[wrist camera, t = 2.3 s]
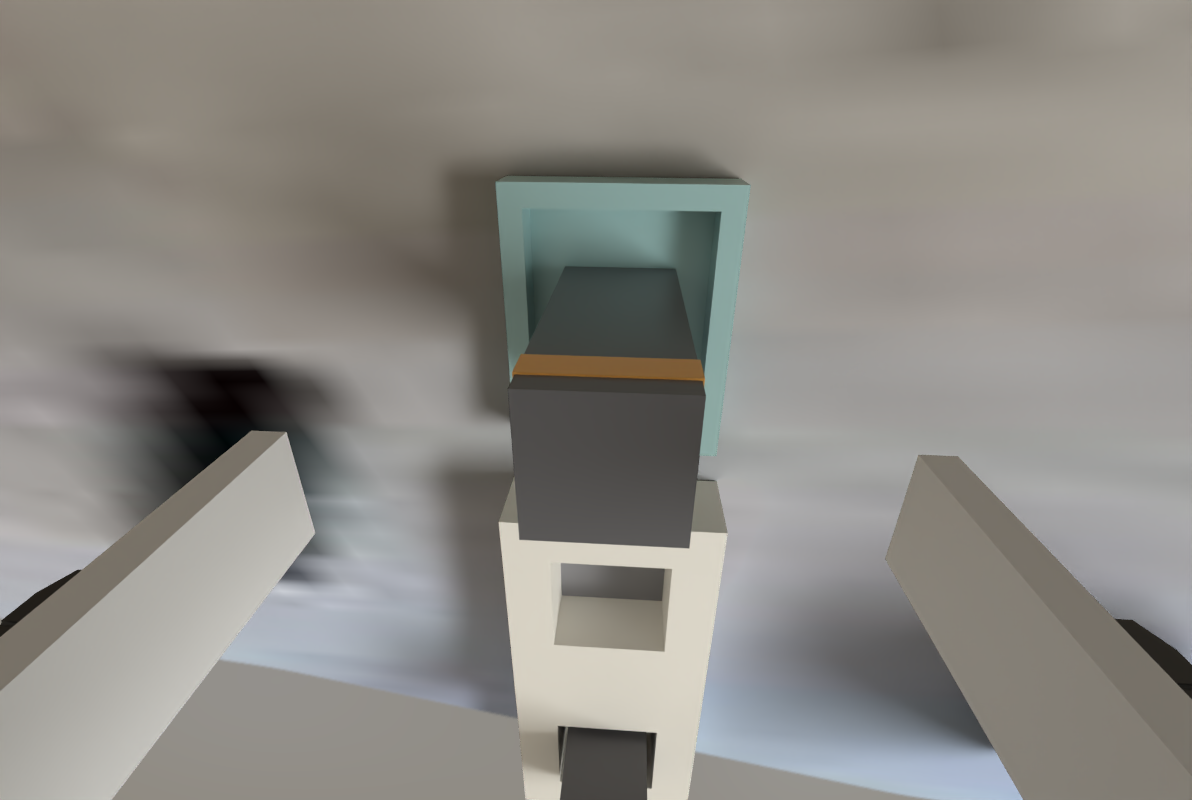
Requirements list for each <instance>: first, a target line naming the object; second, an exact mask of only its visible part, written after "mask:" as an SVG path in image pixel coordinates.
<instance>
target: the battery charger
mask: <svg viewBox="0 0 1192 800" xmlns="http://www.w3.org/2000/svg"><path fill="white" fill-rule="evenodd" d="M499 531H500V541H501V551H502V562H503V572H504V582H505V592H506V603H507V613H508V623H509V633H510V644H511V654H512V664H513V674H514V685H515V695H516V705H517V715H518V725H519V735H520V746H521V756H522V767H523V776H524V787H525V797H526V799H531V800H688V795H689V788H690V781H691V774H692V768H693V761H694V754H695V748H696V741H697V734H698V728H699V721H700V714H701V708H702V701H703V694H704V688H705V681H706V674H707V668H708V661H709V654H710V648H711V641H712V634H713V628H714V621H715V614H716V607H717V601H718V594H719V587H720V581H721V574H722V567H723V561H724V554H725V547H726V541H727V534H728V533H727V528H726V523H725V519H724V514H723V509H722V505H721V500H720V495H719V490H718V486H717V481H697V483H696V493H695V502H694V511H693V520H692V529H691V538H690V547H689V548H669V547H649V546H630V545H610V544H590V543H571V542H551V541H531V540H519V529H518V516H517V503H516V490H515V477H514V478H513V481H512V484H511V487H510V490H509V493H508V496H507V499H506V502H505V505H504V508H503V511H502V514H501V517H500V520H499Z"/></svg>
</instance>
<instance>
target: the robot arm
mask: <svg viewBox="0 0 1192 800" xmlns="http://www.w3.org/2000/svg"><path fill="white" fill-rule="evenodd" d="M314 534H315V530H314V527H313V523H312V520H311V517H310V513H309V510H308V506H307V503H306V499H305V496H304V492H303V489H302V485H301V482H300V478H299V475H298V471H297V468H296V464H295V461H294V457H293V454H292V450H291V447H290V443H289V440H288V436H287V433H286V432H267V431H251V432H250V433H248V434H247V435H246V436H245V437H244V438H242V439H241V440H240V441H239V442H237V443H236V444H235V445H234V446H233V447H231V448H230V449H229V450H228V451H227V452H225V453H224V454H223V455H222V456H220V457H219V458H218V459H217V460H216V461H214V462H213V463H212V464H211V465H209V466H208V467H207V468H206V469H205V470H203V471H202V472H201V473H200V474H198V475H197V476H196V477H195V478H194V479H192V480H191V481H190V482H189V483H187V484H186V485H185V486H184V487H183V488H181V489H180V490H179V491H178V492H177V493H175V494H174V495H173V496H172V497H170V498H169V499H168V500H167V501H166V502H164V503H163V504H162V505H161V506H159V507H158V508H157V509H156V510H155V511H153V512H152V513H151V514H150V515H148V516H147V517H146V518H145V519H144V520H142V521H141V522H140V523H139V524H138V525H136V526H135V527H134V528H133V529H131V530H130V531H129V532H128V533H127V534H125V535H124V536H123V537H122V538H120V539H119V540H118V541H117V542H116V543H114V544H113V545H112V546H111V547H109V548H108V549H107V550H106V551H105V552H103V553H102V554H101V555H100V556H98V557H97V558H96V559H95V560H94V561H92V562H91V563H90V564H89V565H88V566H86V567H85V568H84V569H83V570H76V571H75V572H73V573H71V574H69V575H67V576H66V577H64V578H62V579H60V580H58V581H57V582H55V583H53V584H51V585H49V586H48V587H46V588H44V589H42V590H40V591H39V592H37V593H35V594H34V595H33V596H32V597H30V598H29V599H28V600H27V601H25V602H24V603H23V604H22V605H20V606H19V607H18V608H17V609H15V610H14V611H13V612H11V613H10V614H9V615H8V616H6V617H5V618H4V619H3V620H1V621H2V623H1V625H0V800H112V798H113V797H114V796H115V795H116V793H117V792H118V791H119V789H120V788H121V787H122V785H123V784H124V783H125V781H126V780H127V779H128V777H129V776H130V775H131V773H132V772H133V771H134V770H135V768H136V767H137V766H138V764H139V763H140V762H141V761H142V759H143V758H144V757H145V755H146V754H147V753H148V751H149V750H150V749H151V747H152V746H153V745H154V744H155V742H156V741H157V740H158V738H159V737H160V735H161V734H162V733H163V732H164V730H165V729H166V728H167V727H168V725H169V724H170V723H171V721H172V720H173V719H174V717H175V716H176V715H177V713H178V712H179V711H180V709H181V708H182V707H183V706H184V704H185V703H186V702H187V700H188V699H189V698H190V696H191V695H192V694H193V692H194V691H195V690H196V689H197V687H198V686H199V685H200V683H201V682H202V681H203V679H204V678H205V677H206V676H207V674H208V673H209V672H210V670H211V669H212V668H213V666H214V665H215V664H216V662H217V661H218V660H219V659H220V657H221V656H222V655H223V653H224V652H225V651H226V649H227V648H228V647H229V645H230V644H231V643H232V642H233V640H234V639H235V638H236V636H237V635H238V634H239V632H240V631H241V630H242V628H243V627H244V626H245V625H246V623H247V622H248V621H249V619H250V618H251V617H252V615H253V614H254V613H255V611H256V610H257V609H258V608H259V606H260V605H261V604H262V602H263V601H264V600H265V598H266V597H267V596H268V594H269V593H270V592H271V591H272V589H273V588H274V587H275V585H276V584H277V583H278V581H279V580H280V579H281V577H282V576H283V575H284V574H285V572H286V571H287V570H288V568H289V567H290V566H291V564H292V563H293V562H294V560H295V559H296V558H297V557H298V555H299V554H300V553H301V551H302V550H303V549H304V547H305V546H306V545H307V543H308V542H309V541H310V540H311V538H312V537H313V536H314ZM885 559H886V561H887V563H888V565H889V566H890V568H891V570H892V572H893V573H894V575H895V577H896V579H897V580H898V582H899V584H900V586H901V587H902V589H903V591H904V593H905V594H906V596H907V598H908V600H909V601H910V603H911V605H912V607H913V608H914V610H915V612H916V613H917V615H918V617H919V619H920V620H921V622H922V624H923V626H924V627H925V629H926V631H927V633H928V634H929V636H930V638H931V640H932V641H933V643H934V645H935V647H936V648H937V650H938V652H939V654H940V655H941V657H942V659H943V661H944V662H945V664H946V666H947V668H948V669H949V671H950V673H951V674H952V676H953V678H954V680H955V681H956V683H957V685H958V687H959V688H960V690H961V692H962V694H963V695H964V697H965V699H966V701H967V702H968V704H969V706H970V708H971V709H972V711H973V713H974V715H975V716H976V718H977V720H978V722H979V723H980V725H981V727H982V729H983V730H984V732H985V734H986V735H987V737H988V739H989V741H990V742H991V744H992V746H993V748H994V749H995V751H996V753H997V755H998V756H999V758H1000V760H1001V762H1002V763H1003V765H1004V767H1005V769H1006V770H1007V772H1008V774H1009V776H1010V777H1011V779H1012V781H1013V783H1014V784H1015V786H1016V788H1017V789H1018V791H1019V793H1020V795H1021V796H1022V798H1023V800H1192V665H1191V664H1190V663H1189V662H1188V661H1187V660H1186V659H1185V658H1184V657H1183V656H1182V655H1181V654H1180V653H1179V652H1178V651H1177V650H1176V649H1174V648H1173V647H1171V646H1170V645H1168V644H1167V643H1166V642H1164V641H1163V640H1161V639H1160V638H1158V637H1157V636H1155V635H1154V634H1152V633H1151V632H1149V631H1148V630H1146V629H1145V628H1143V627H1142V626H1140V625H1139V624H1137V623H1136V622H1134V621H1133V620H1122V619H1114V618H1113V617H1112V616H1111V615H1110V614H1109V613H1108V612H1107V611H1106V610H1105V609H1104V608H1103V607H1102V606H1101V605H1100V604H1099V603H1098V602H1097V600H1096V599H1095V598H1094V597H1093V596H1092V595H1091V594H1090V593H1089V592H1088V591H1087V590H1086V589H1085V588H1084V587H1083V586H1082V585H1081V584H1080V583H1079V582H1078V581H1077V580H1076V579H1075V578H1074V577H1073V576H1072V575H1071V573H1070V572H1069V571H1068V570H1067V569H1066V568H1065V567H1064V566H1063V565H1062V564H1061V563H1060V562H1059V561H1058V560H1057V559H1056V558H1055V557H1054V556H1053V555H1052V554H1051V553H1050V552H1049V551H1048V550H1047V549H1046V548H1045V546H1044V545H1043V544H1042V543H1041V542H1040V541H1039V540H1038V539H1037V538H1036V537H1035V536H1034V535H1033V534H1032V533H1031V532H1030V531H1029V530H1028V529H1027V528H1026V527H1025V526H1024V525H1023V524H1022V523H1021V522H1020V521H1019V519H1018V518H1017V517H1016V516H1015V515H1014V514H1013V513H1012V512H1011V511H1010V510H1009V509H1008V508H1007V507H1006V506H1005V505H1004V504H1003V503H1002V502H1001V501H1000V500H999V499H998V498H997V497H996V496H995V495H994V494H993V492H992V491H991V490H990V489H989V488H988V487H987V486H986V485H985V484H984V483H983V482H982V481H981V480H980V479H979V478H978V477H977V476H976V475H975V474H974V473H973V472H972V471H971V470H970V469H969V468H968V467H967V465H966V464H965V463H964V462H963V461H962V460H961V459H960V458H959V457H958V456H934V455H918V458H917V461H916V464H915V468H914V471H913V474H912V477H911V480H910V483H909V486H908V489H907V493H906V496H905V499H904V502H903V505H902V508H901V511H900V514H899V518H898V521H897V524H896V527H895V530H894V533H893V536H892V540H891V543H890V546H889V549H888V552H887V555H886V558H885Z"/></svg>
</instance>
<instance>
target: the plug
mask: <svg viewBox="0 0 1192 800" xmlns="http://www.w3.org/2000/svg"><path fill="white" fill-rule="evenodd" d="M512 378H513V379H512V381H511V383H510V385H509V387H508V399H509V412H510V425H511V438H512V451H513V464H514V477H515V490H516V503H517V516H518V529H519V540H531V541H551V542H571V543H590V544H610V545H630V546H649V547H669V548H689V547H690V538H691V529H692V520H693V511H694V502H695V493H696V483H697V474H698V465H699V456H700V447H701V438H702V429H703V420H704V411H705V402H706V393H705V389H704V385H705V376H704V372H703V368H702V364H701V360H697V355H696V351H695V347H694V343H693V339H692V334H691V330H690V326H689V322H688V318H687V313H686V309H685V305H684V301H683V297H682V292H681V288H680V284H679V280H678V276H677V271H676V269H666V268H621V267H576V266H565V267H564V270H563V272H562V274H561V276H560V278H559V280H558V282H557V285H556V287H555V289H554V291H553V293H552V295H551V297H550V300H549V302H548V304H547V306H546V308H545V310H544V312H543V314H542V317H541V319H540V321H539V323H538V325H537V327H536V329H535V332H534V334H533V336H532V338H531V340H530V342H529V344H528V347H527V349H526V351H525V353H524V354H521V355H520V357H519V359H518V361H517V363H516V365H515V367H514V369H513V371H512Z"/></svg>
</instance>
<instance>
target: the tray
mask: <svg viewBox="0 0 1192 800" xmlns="http://www.w3.org/2000/svg"><path fill="white" fill-rule="evenodd" d="M495 183H496V197H497V210H498V224H499V237H500V251H501V264H502V278H503V291H504V305H505V318H506V332H507V346H508V359H509V373H510V383H511V381H512V379H513V378H512V371H513V369H514V367H515V365H516V363H517V361H518V359H519V357H520V355H521V354H524V353H525V351H526V349H527V347H528V344H529V342H530V340H531V338H532V336H533V334H534V332H535V329H536V327H537V325H538V323H539V321H540V319H541V317H542V314H543V312H544V310H545V308H546V306H547V304H548V302H549V300H550V297H551V295H552V293H553V291H554V289H555V287H556V285H557V282H558V280H559V278H560V276H561V274H562V272H563V270H564V267H565V266H576V267H621V268H666V269H676V271H677V276H678V280H679V284H680V288H681V292H682V297H683V301H684V305H685V309H686V313H687V318H688V322H689V326H690V330H691V334H692V339H693V343H694V347H695V351H696V355H697V360H701V364H702V368H703V372H704V376H705V385H704V389H705V393H706V402H705V411H704V420H703V429H702V438H701V447H700V455H702V456H716V454H717V446H718V439H719V431H720V423H721V415H722V407H723V399H724V391H725V383H726V375H727V368H728V360H729V352H730V344H731V336H732V328H733V320H734V312H735V304H736V297H737V289H738V281H739V273H740V265H741V257H742V249H743V241H744V233H745V226H746V218H747V210H748V202H749V194H750V186H751V185H750V184H748V183H747V182H745V181H744V180H742V179H725V178H648V177H570V176H506V177H504V178H502V179H500V180H498V181H496V182H495Z"/></svg>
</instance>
